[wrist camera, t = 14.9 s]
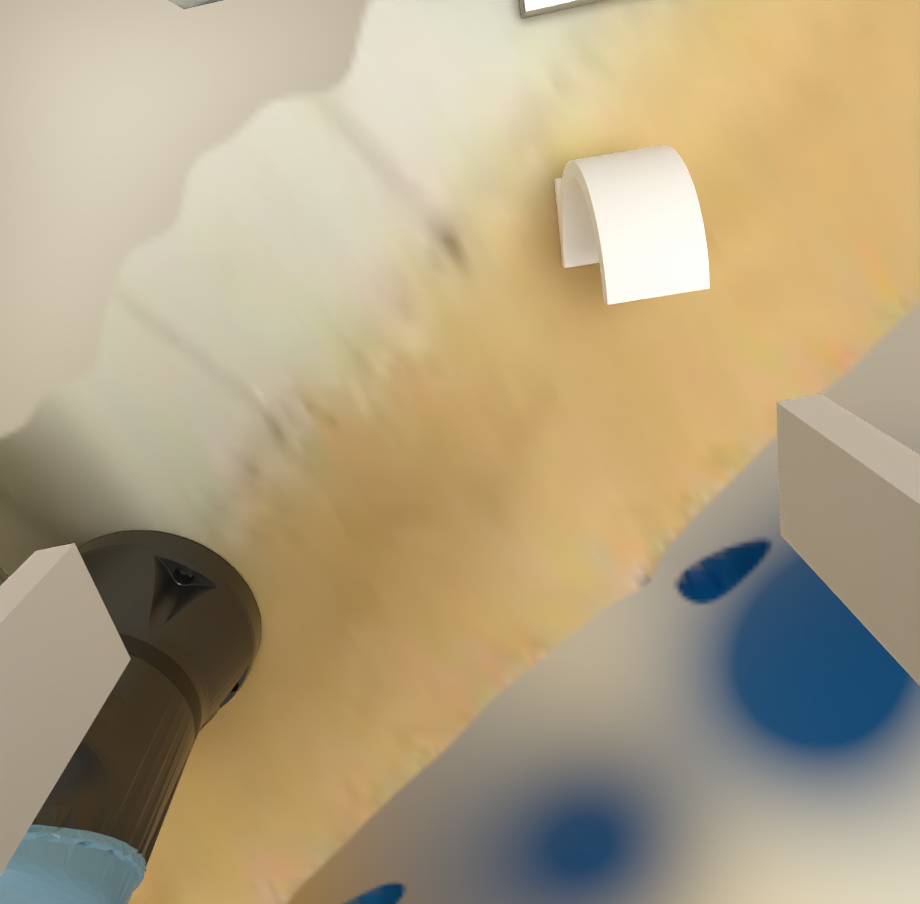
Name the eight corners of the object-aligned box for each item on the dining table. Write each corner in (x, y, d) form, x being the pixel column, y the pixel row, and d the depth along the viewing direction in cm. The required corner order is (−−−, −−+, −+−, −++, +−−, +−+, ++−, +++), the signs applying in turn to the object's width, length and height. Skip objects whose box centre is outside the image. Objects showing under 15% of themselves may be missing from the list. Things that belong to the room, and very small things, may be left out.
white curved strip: (561, 266, 42) (606, 305, 31) (552, 159, 40) (596, 160, 29) (638, 254, 42) (710, 289, 31) (632, 146, 40) (708, 141, 29)
